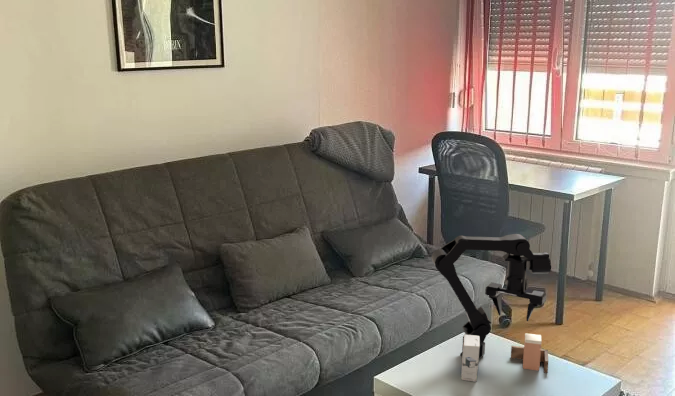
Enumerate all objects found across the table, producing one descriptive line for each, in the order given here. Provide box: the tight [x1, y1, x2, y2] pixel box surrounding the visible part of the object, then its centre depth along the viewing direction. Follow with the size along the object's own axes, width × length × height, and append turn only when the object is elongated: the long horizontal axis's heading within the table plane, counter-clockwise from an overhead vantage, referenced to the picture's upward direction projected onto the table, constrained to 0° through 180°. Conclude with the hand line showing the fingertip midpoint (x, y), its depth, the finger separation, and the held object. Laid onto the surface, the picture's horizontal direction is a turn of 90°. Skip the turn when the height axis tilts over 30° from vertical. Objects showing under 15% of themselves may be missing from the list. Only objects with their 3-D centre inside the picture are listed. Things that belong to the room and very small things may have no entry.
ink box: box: [460, 333, 480, 382], centre depth 208 cm, size 9×5×12 cm, turn 168°
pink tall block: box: [522, 332, 542, 371], centre depth 214 cm, size 5×5×10 cm
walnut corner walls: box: [510, 345, 549, 374], centre depth 216 cm, size 12×8×4 cm
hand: (513, 317), depth 220 cm, fingers open, 9 cm apart
